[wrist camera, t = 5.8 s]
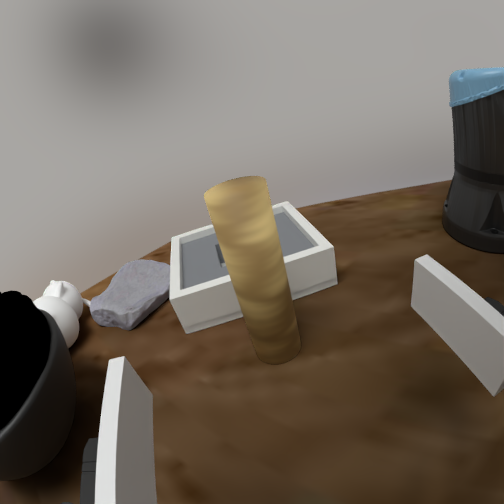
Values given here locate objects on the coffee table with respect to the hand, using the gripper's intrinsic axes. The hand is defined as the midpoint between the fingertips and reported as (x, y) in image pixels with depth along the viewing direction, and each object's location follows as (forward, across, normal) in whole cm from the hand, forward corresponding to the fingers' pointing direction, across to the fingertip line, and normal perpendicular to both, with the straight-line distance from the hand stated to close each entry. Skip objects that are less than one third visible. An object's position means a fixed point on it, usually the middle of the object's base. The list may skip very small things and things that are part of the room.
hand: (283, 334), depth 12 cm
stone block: (+27, -15, -14) cm, 34 cm away
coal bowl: (+7, -26, -13) cm, 30 cm away
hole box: (+26, +1, -13) cm, 29 cm away
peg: (+12, +1, -13) cm, 18 cm away
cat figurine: (+24, -26, -13) cm, 38 cm away
